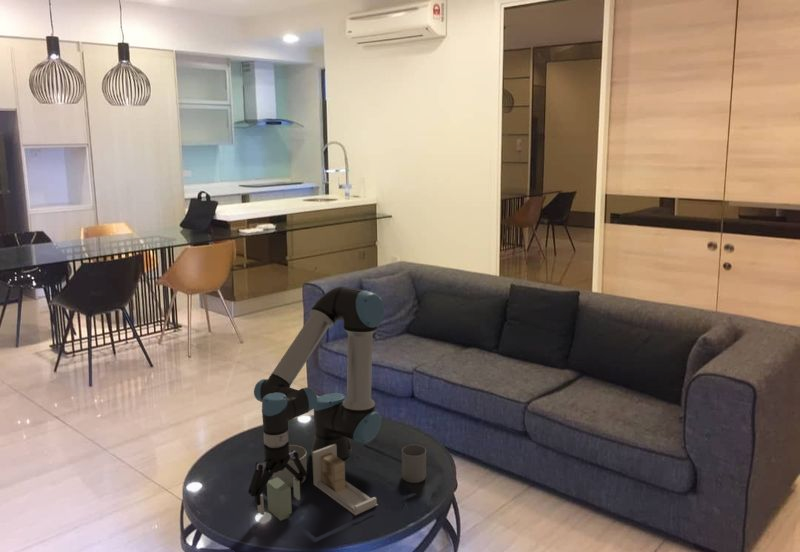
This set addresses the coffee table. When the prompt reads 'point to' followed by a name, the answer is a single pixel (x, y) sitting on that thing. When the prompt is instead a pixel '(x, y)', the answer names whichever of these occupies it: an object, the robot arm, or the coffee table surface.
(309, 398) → the robot arm
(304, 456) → the planter
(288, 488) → the green panel
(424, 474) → the cup
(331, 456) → the oak panel
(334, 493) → the track
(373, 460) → the coffee table surface
